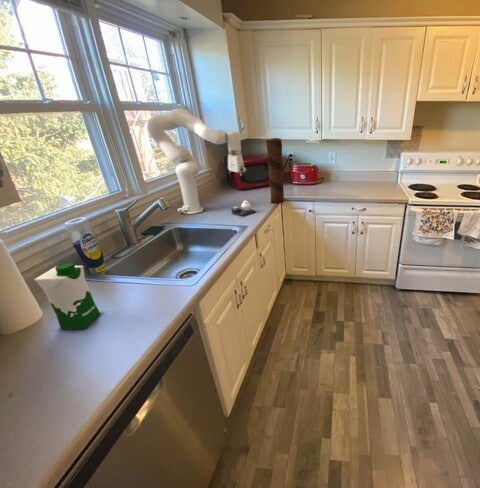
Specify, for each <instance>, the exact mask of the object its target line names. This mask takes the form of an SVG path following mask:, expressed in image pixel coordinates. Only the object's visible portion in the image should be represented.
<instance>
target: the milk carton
mask: <svg viewBox="0 0 480 488" xmlns="http://www.w3.org/2000/svg"><path fill="white" fill-rule="evenodd" d="M33 281H34V282H36V283H37V285H38V286H39V287H40V288H41V289H42V290H43V292H44V294H45V295H46V298H47V299H48V301H49V303H50V306H51V308H52V309H53V311H54V314H55V316H56V319H57V322H58V325H59V328H60V330H85V329H86V328H88V327H89V326H90V325H91V324H92V323H93V322H94V321H95V320H96V319H97V318H98V317H99V316H100V315H101V313H100V310H99V308H98V306H97V305H96V303H95V300H94V297H93V295H92V293H91V291H90V288H89V286H88V283H87V281H86V277H85V269H84V265H75V264H74V262H70V261H69V262H64V263H60V264H58V265H56V266H54V267H52V268H51V269H49V270H47V271H46V272H44V273H42V274H41V275H39V276H37V277H36V278H34V279H33Z"/></svg>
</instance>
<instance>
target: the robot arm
mask: <svg viewBox="0 0 480 488" xmlns="http://www.w3.org/2000/svg"><path fill="white" fill-rule="evenodd" d="M146 127H147V131H148V133H149V135H150V137H151V138H152V140H154V142H155V143H156V145H158V147H159V149H160V150H161V151H162V153H163V154H164V155H165V157H166V158H167V159H168V161H169V162H171V163H173V164H176V163H179V164H178V165H177V166H176V168H175V174H176V178H177V180H178V183H179V186H180V191H181V195H182V201H183V202H182V203H183V205H182V207H180V208H179V207H178V208H177V212H182V213H183V214H185V215H195V214H200V213H202V212H204V207H202V206H201V202H200V197H199V192H198V185H197V182H196V180H195V177H194V176H196V175H198V174H199V172H200V167H199V164H198V162H197V161H196V160H195V158H194V156H193V155H192V154H191V152H190V151H189V150H188V149H187V148H186V147H185V146H184V145H180V144H179V145H177V144H176V143H175V141H173V139H172V137H170V136H169V134H167V133H166V131H172V130H175V129H179V128H181V127H183V128H184V129H187V131H191V132H192V133H195V134H196V135H197V136H199V137H200V138H201V139H203V140H205V141H206V142H207V141H208V142H209V143H212V144H215V145H223V144H227V151H228V155H227V165H226V168H227V171H228V173H229V178H230V181H232V180H233V181H234V180H236V176H235V175H236V174H235V173H238V174H239V179H240V180H239V181H240V183H244V182H246V177H245V176H246V173H247V168H246V167H245V165H244V164H245V163H244V160H243V154H242V144H241V133H240V132H239V131H236V130H223V129H218V130H216V129H213V128H212V127H210V126H208V125H206V124H205V123H204V122H203V120H202V119H201V118H200V117H197V116H195V115H193V114H191V112H190V111H188V109H185V108H173V109H172V110H171V111H170V113H168V114H156V115H151V117H149V119H148V120H147V126H146Z"/></svg>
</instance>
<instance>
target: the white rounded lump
mask: <svg viewBox="0 0 480 488" xmlns="http://www.w3.org/2000/svg"><path fill="white" fill-rule="evenodd" d="M251 206H252V205H251V203H250V202H249V201H248V200H247V199H246V200H243V201H242V204H240V207H241V209H242V208H243V210H244V211H249V209H251Z"/></svg>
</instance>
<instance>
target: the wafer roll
mask: <svg viewBox="0 0 480 488" xmlns="http://www.w3.org/2000/svg"><path fill="white" fill-rule="evenodd" d="M282 142H283V141H282V138H279V137H271V138H266V139H265V146H266V154H267V155H266V156H267V164H268V182H269V190H270V202H271V203H273V204H283V203H284V202H285V195H284V194H285V192H284V191H285V190H284V189H285V188H284V165H283V143H282Z"/></svg>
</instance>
